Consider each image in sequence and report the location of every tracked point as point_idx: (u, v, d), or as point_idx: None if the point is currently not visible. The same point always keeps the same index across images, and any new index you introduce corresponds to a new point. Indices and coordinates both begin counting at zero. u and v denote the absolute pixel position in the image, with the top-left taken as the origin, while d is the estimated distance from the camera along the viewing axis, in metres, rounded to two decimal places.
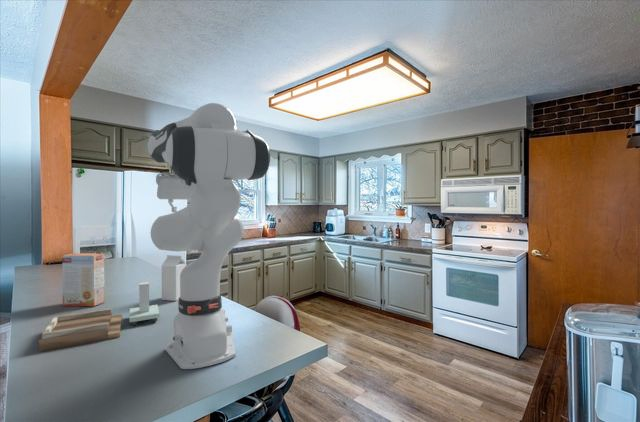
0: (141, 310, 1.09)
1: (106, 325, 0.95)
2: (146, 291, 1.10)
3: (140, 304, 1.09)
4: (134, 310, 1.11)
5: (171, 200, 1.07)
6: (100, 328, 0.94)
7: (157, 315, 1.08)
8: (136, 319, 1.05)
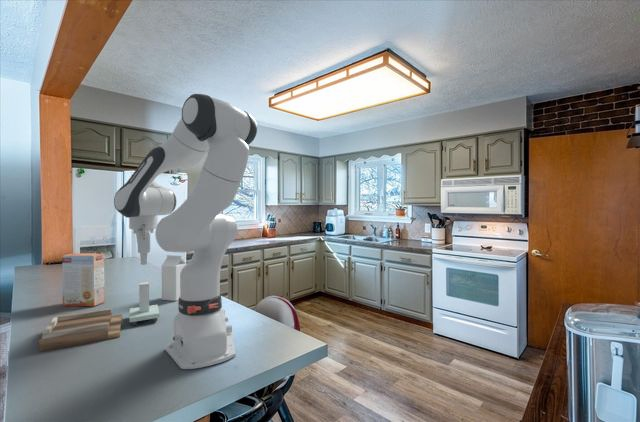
0: (141, 310, 1.09)
1: (106, 325, 0.95)
2: (146, 291, 1.10)
3: (140, 304, 1.09)
4: (134, 310, 1.11)
5: None
6: (100, 328, 0.94)
7: (157, 315, 1.08)
8: (136, 319, 1.05)
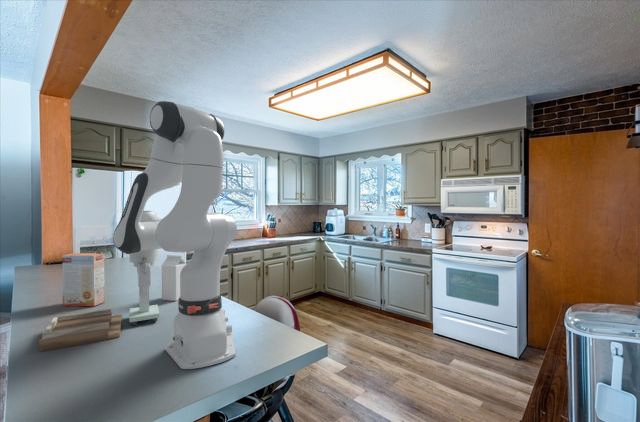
0: (141, 310, 1.09)
1: (106, 325, 0.95)
2: None
3: (140, 304, 1.09)
4: (134, 310, 1.11)
5: None
6: (100, 328, 0.94)
7: (157, 315, 1.08)
8: (136, 319, 1.05)
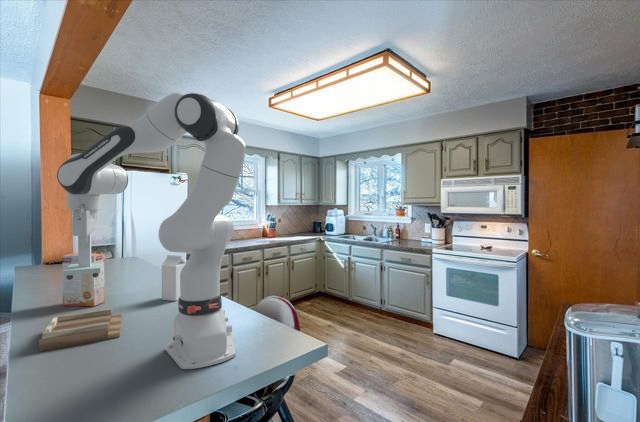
0: (80, 264, 0.97)
1: (106, 325, 0.95)
2: None
3: (79, 258, 0.97)
4: (74, 265, 0.99)
5: (87, 235, 0.96)
6: (100, 328, 0.94)
7: (97, 269, 0.96)
8: (72, 273, 0.93)
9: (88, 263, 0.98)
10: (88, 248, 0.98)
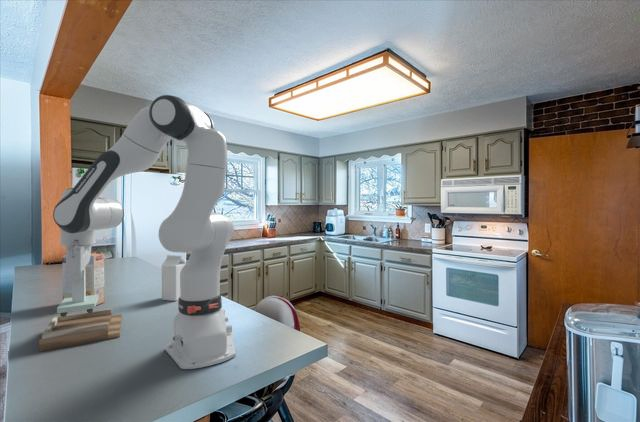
0: (74, 300, 0.96)
1: (106, 325, 0.95)
2: None
3: (73, 293, 0.96)
4: (68, 300, 0.98)
5: None
6: (100, 328, 0.94)
7: (92, 305, 0.95)
8: (65, 310, 0.92)
9: (82, 298, 0.97)
10: (82, 283, 0.97)
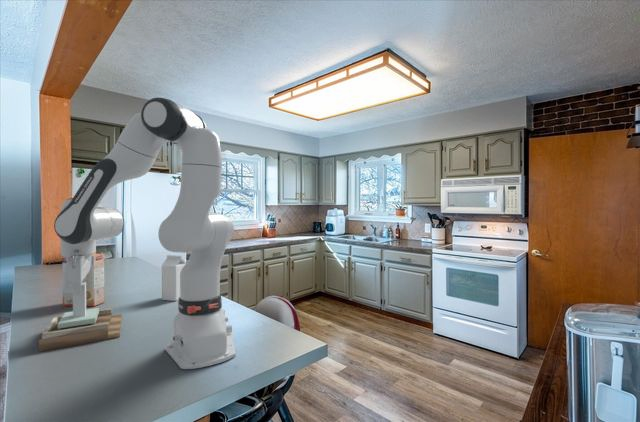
0: (75, 314, 0.96)
1: (106, 325, 0.95)
2: (82, 292, 0.97)
3: (74, 308, 0.96)
4: (68, 315, 0.98)
5: None
6: (100, 328, 0.94)
7: (92, 320, 0.95)
8: (66, 325, 0.92)
9: (83, 312, 0.97)
10: (83, 297, 0.97)
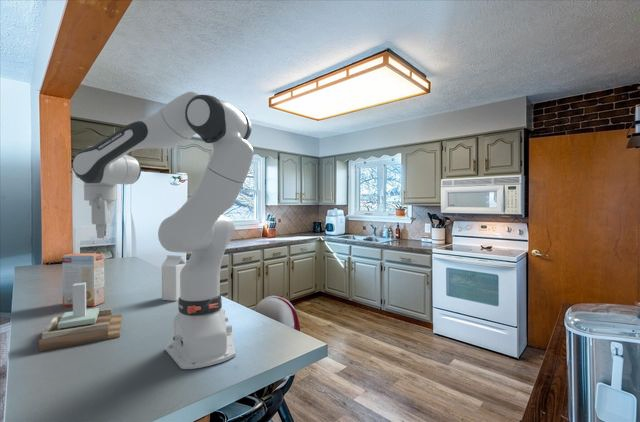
0: (75, 314, 0.96)
1: (106, 325, 0.95)
2: (82, 292, 0.97)
3: (74, 308, 0.96)
4: (68, 315, 0.98)
5: (104, 224, 0.97)
6: (100, 328, 0.94)
7: (92, 320, 0.95)
8: (66, 325, 0.92)
9: (83, 312, 0.97)
10: (83, 297, 0.97)
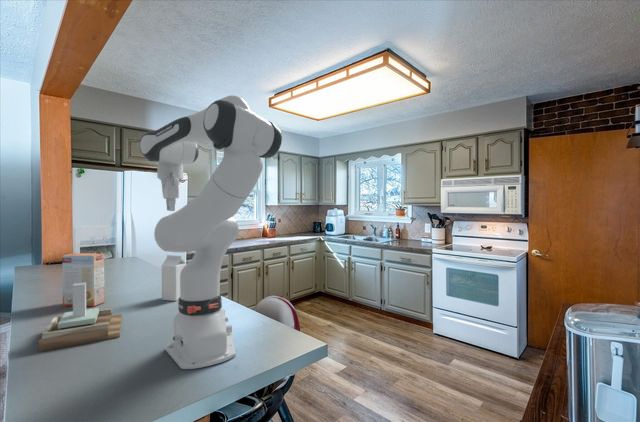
0: (75, 314, 0.96)
1: (106, 325, 0.95)
2: (82, 292, 0.97)
3: (74, 308, 0.96)
4: (68, 315, 0.98)
5: None
6: (100, 328, 0.94)
7: (92, 320, 0.95)
8: (66, 325, 0.92)
9: (83, 312, 0.97)
10: (83, 297, 0.97)
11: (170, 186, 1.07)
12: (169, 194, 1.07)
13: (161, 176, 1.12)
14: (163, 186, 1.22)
